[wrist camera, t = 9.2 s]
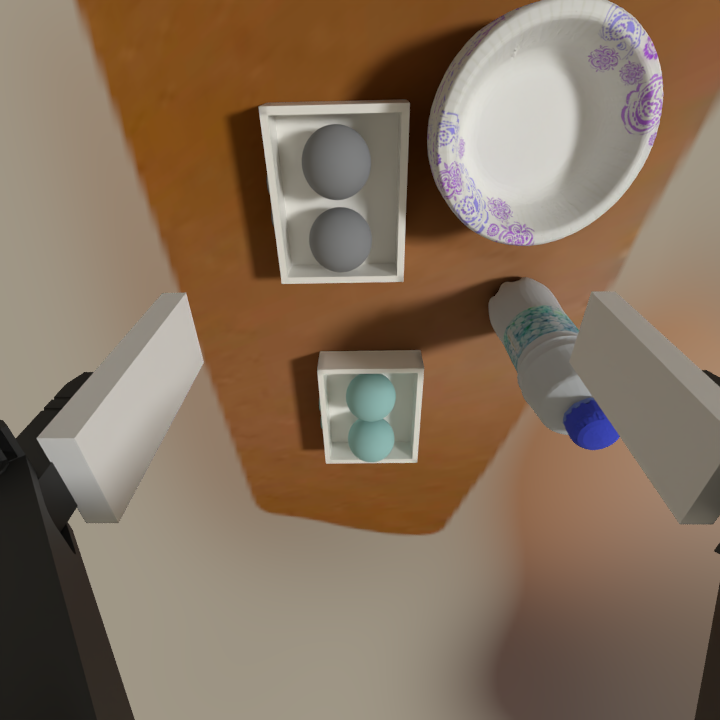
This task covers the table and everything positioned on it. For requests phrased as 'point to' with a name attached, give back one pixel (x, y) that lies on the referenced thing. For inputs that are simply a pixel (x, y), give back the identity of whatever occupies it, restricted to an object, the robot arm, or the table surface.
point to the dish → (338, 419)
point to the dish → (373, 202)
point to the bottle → (548, 362)
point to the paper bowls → (545, 119)
